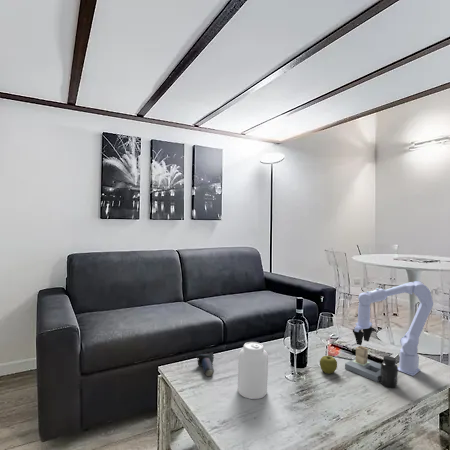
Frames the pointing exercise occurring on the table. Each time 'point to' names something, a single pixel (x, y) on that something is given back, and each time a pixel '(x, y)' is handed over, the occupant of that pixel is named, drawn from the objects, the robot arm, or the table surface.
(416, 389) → the table surface
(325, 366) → the apple
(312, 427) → the table surface
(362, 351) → the beech block
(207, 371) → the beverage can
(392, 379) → the supplement bottle
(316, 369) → the table surface
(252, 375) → the can
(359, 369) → the pocket board
